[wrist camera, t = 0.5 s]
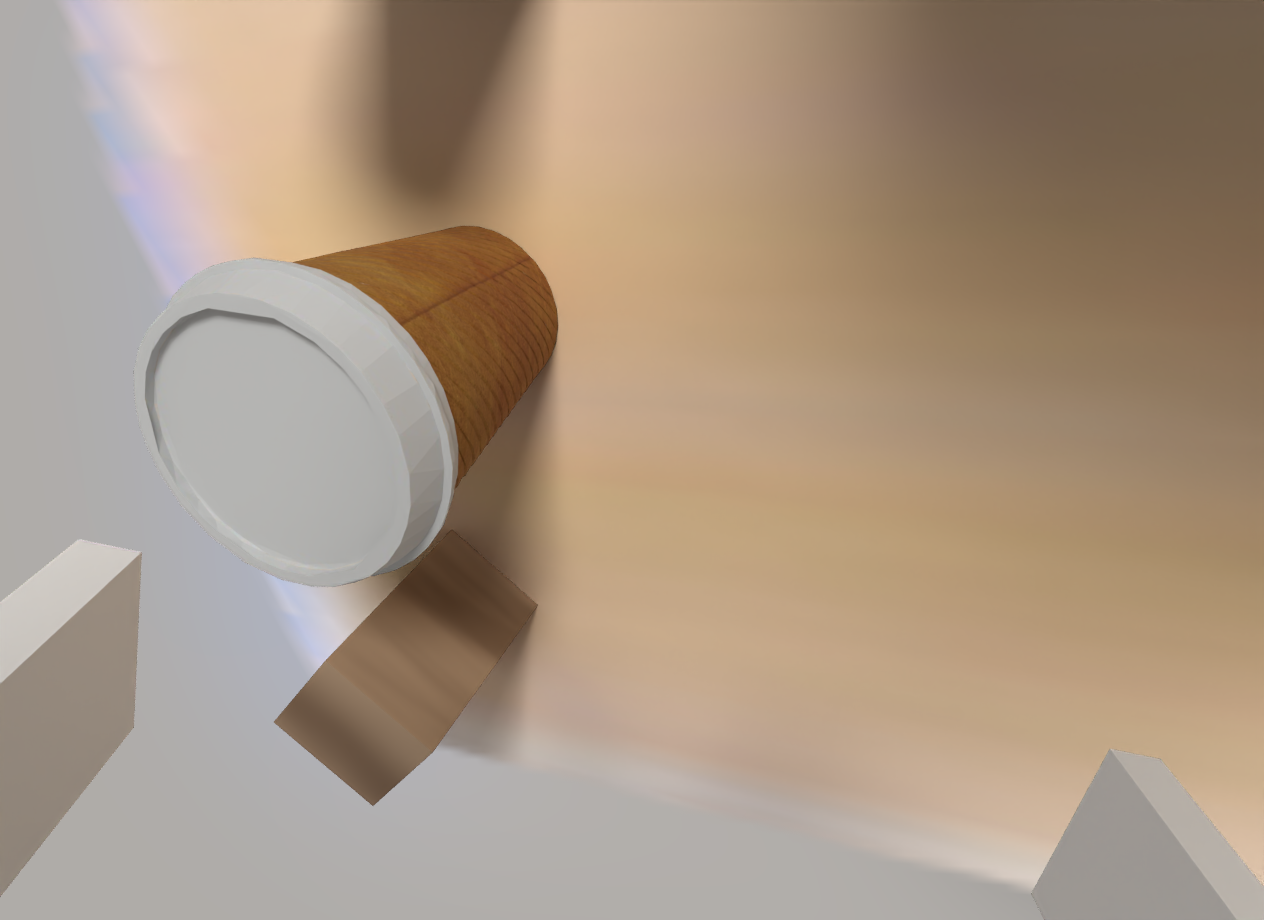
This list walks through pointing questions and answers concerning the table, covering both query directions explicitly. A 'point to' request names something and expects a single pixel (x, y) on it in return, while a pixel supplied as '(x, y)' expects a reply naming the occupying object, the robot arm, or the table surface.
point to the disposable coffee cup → (340, 395)
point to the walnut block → (408, 669)
